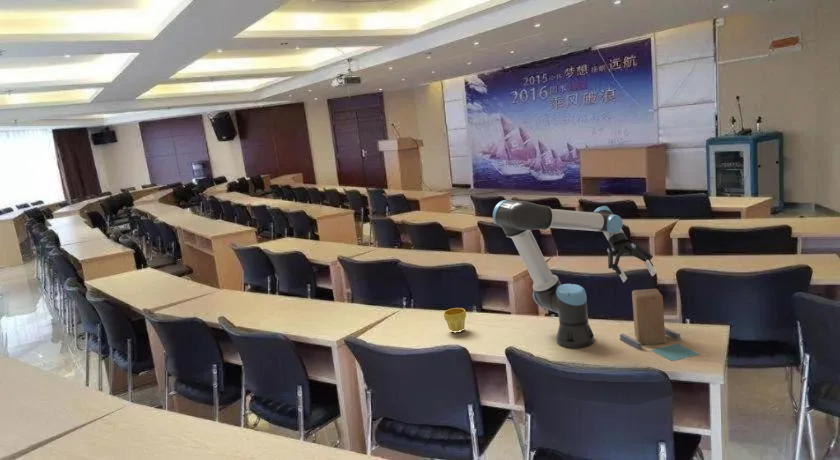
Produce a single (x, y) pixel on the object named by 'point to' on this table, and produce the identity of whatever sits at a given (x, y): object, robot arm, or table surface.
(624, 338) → the chute
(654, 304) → the wooden block
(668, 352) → the mat
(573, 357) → the table surface
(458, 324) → the plant pot
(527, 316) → the table surface
